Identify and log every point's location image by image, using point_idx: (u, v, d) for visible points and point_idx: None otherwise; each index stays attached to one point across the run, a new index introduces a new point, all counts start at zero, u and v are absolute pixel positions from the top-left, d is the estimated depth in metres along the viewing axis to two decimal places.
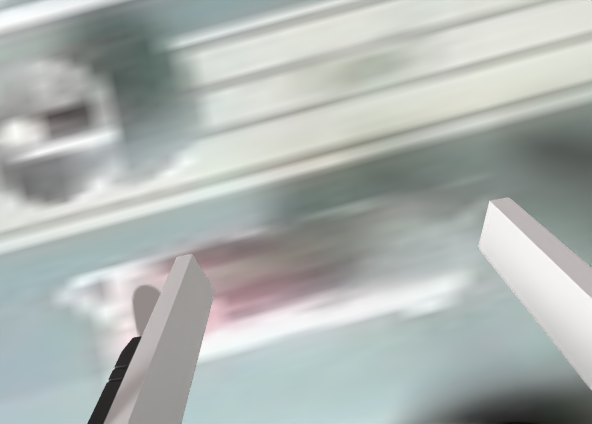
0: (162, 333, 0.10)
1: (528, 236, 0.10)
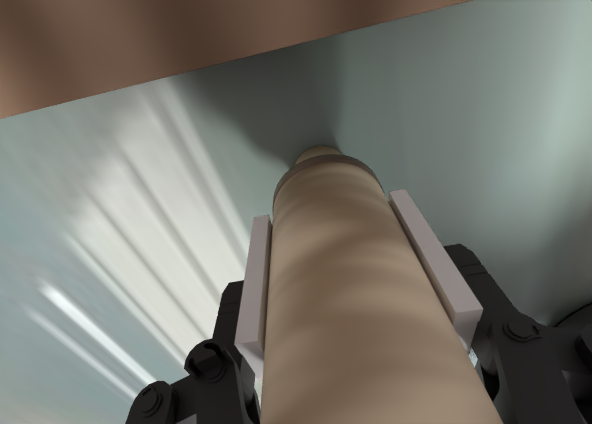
0: (263, 274, 0.11)
1: (406, 220, 0.12)
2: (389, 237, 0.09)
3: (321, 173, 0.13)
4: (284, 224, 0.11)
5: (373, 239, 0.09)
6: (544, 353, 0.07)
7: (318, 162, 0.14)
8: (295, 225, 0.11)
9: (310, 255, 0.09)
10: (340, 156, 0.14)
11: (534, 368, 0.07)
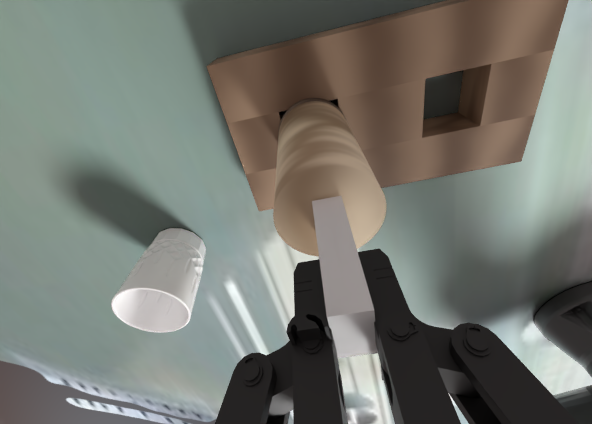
0: (337, 253, 0.11)
1: (334, 226, 0.12)
2: (340, 126, 0.18)
3: (307, 105, 0.21)
4: (285, 130, 0.20)
5: (330, 125, 0.18)
6: (420, 346, 0.08)
7: (306, 101, 0.22)
8: (291, 126, 0.19)
9: (299, 132, 0.18)
10: (319, 98, 0.23)
11: (413, 364, 0.07)
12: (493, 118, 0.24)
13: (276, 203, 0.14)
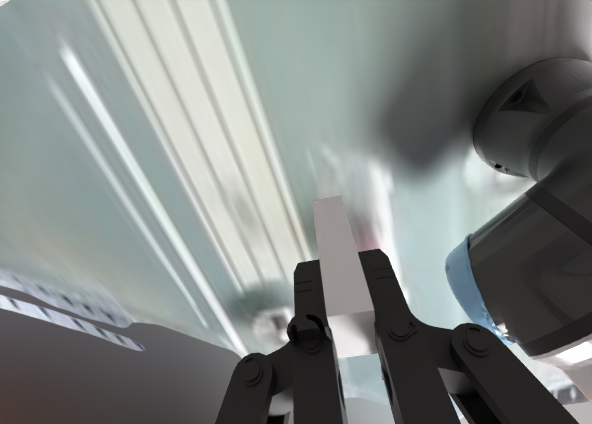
0: (337, 253, 0.11)
1: (334, 226, 0.12)
2: None
3: None
4: None
5: None
6: (420, 346, 0.08)
7: None
8: None
9: None
10: None
11: (413, 363, 0.07)
12: None
13: None
